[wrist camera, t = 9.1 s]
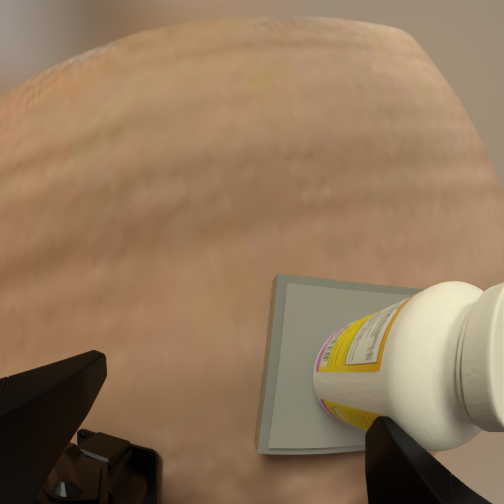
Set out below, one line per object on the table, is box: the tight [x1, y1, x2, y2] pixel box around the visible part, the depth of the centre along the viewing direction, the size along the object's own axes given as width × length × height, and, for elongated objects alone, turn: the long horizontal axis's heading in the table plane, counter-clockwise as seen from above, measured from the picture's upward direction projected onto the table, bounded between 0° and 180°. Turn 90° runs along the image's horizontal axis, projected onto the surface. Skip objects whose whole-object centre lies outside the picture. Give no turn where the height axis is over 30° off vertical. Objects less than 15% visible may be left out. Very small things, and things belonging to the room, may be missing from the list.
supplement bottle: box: [313, 281, 504, 451], centre depth 11 cm, size 7×7×13 cm
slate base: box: [254, 274, 424, 455], centre depth 18 cm, size 12×12×2 cm
